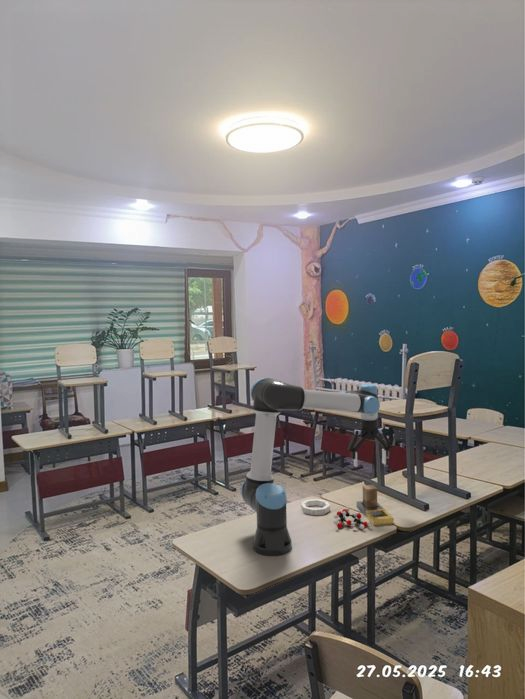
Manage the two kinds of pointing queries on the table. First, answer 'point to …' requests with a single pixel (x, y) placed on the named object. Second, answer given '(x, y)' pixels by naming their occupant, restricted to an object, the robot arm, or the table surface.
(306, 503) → the white ring
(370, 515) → the yellow grey tray
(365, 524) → the molecular model
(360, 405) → the robot arm
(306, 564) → the table surface
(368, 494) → the walnut peg
